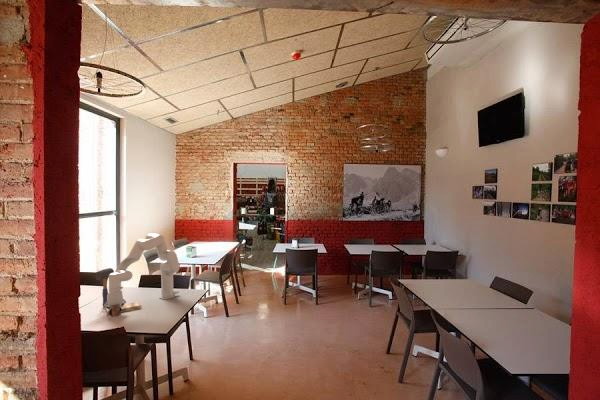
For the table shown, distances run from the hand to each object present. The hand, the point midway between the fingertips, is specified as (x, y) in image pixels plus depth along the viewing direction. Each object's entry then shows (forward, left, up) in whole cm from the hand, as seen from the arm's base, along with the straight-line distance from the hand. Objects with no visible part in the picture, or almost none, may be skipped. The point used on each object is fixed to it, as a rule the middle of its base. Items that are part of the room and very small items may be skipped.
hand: (115, 313), depth 239 cm
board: (-7, -8, -1) cm, 10 cm away
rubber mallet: (+4, -24, -1) cm, 24 cm away
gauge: (0, -4, -1) cm, 5 cm away
